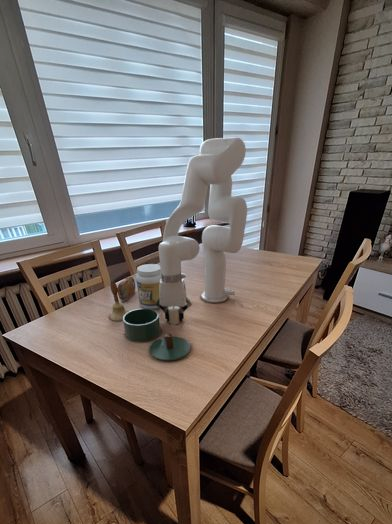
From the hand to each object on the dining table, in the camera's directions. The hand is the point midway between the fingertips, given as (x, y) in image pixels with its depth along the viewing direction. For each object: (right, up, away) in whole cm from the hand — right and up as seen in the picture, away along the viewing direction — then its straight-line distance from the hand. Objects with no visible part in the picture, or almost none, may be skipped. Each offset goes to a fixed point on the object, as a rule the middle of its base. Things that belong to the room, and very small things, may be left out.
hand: (174, 319), depth 112 cm
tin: (-24, +14, +22) cm, 35 cm away
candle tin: (-12, -6, -6) cm, 14 cm away
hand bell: (-24, +2, +5) cm, 24 cm away
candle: (0, -1, 0) cm, 1 cm away
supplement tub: (-11, +9, +14) cm, 20 cm away
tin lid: (0, -12, -17) cm, 20 cm away
